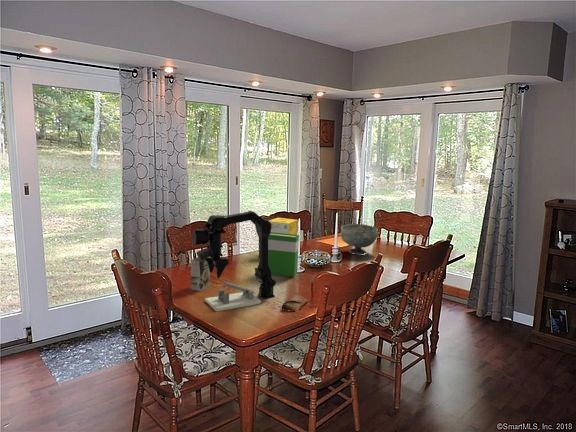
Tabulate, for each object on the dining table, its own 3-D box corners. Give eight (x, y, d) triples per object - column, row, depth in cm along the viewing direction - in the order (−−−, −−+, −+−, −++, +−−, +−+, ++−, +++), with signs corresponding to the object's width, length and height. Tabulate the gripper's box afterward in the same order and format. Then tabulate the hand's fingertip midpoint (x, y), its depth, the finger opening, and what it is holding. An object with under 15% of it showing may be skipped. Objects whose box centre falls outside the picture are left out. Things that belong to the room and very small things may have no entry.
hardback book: (265, 273, 253) (266, 234, 249) (269, 270, 260) (270, 231, 256) (294, 277, 249) (296, 237, 244) (297, 273, 256) (299, 234, 252)
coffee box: (201, 291, 219) (201, 261, 216) (190, 289, 221) (190, 259, 218) (210, 286, 227) (210, 257, 224) (199, 284, 229) (200, 255, 226)
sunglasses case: (298, 313, 196) (292, 300, 196) (285, 318, 199) (279, 305, 199) (310, 300, 213) (304, 288, 213) (298, 305, 215) (292, 293, 216)
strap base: (248, 294, 218) (248, 283, 217) (260, 303, 206) (261, 291, 205) (205, 301, 206) (205, 289, 205) (216, 311, 194) (216, 299, 193)
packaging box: (297, 254, 299) (298, 220, 294) (287, 260, 284) (289, 223, 280) (276, 251, 305) (277, 217, 301) (266, 256, 290) (267, 220, 286)
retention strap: (246, 291, 212) (247, 288, 212) (250, 294, 207) (252, 291, 208) (221, 282, 204) (223, 280, 204) (225, 285, 200) (227, 283, 200)
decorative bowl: (375, 249, 321) (376, 223, 318) (378, 259, 296) (380, 231, 293) (340, 248, 324) (340, 223, 320) (340, 258, 299) (341, 230, 295)
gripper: (191, 239, 200) (191, 271, 203) (205, 249, 185) (205, 283, 187) (213, 238, 206) (213, 268, 209) (229, 246, 190) (228, 280, 193)
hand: (214, 275), depth 199 cm, fingers open, 9 cm apart
